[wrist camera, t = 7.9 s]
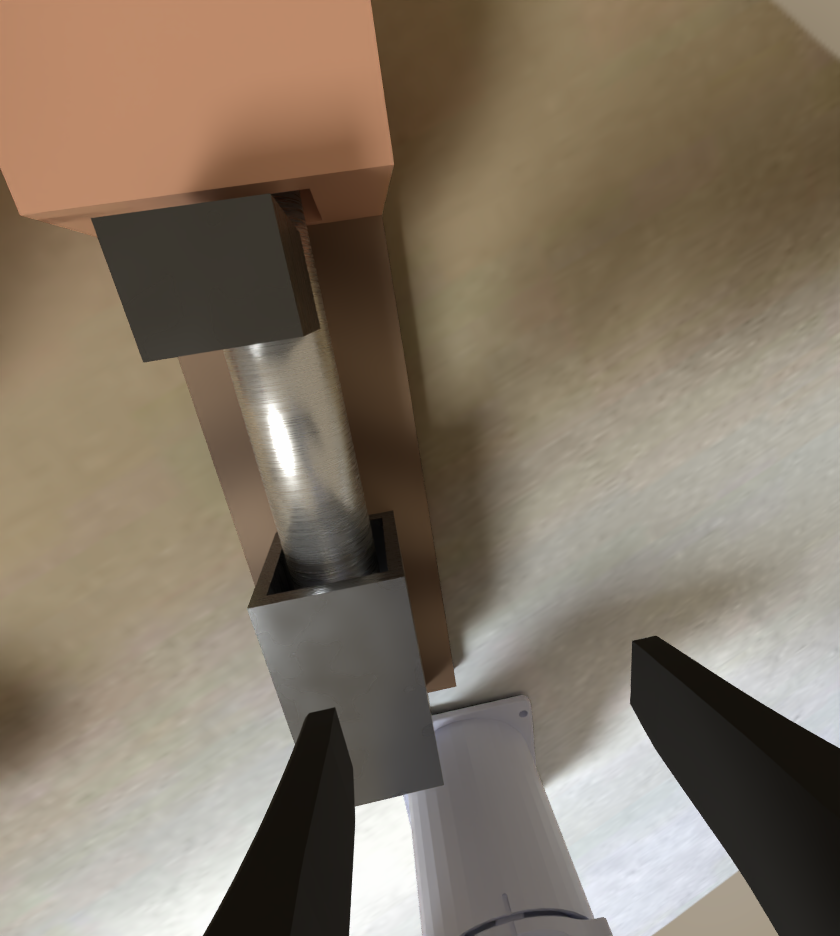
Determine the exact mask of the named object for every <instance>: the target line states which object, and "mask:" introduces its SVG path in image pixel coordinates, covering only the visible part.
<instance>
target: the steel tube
mask: <svg viewBox="0 0 840 936" xmlns="http://www.w3.org/2000/svg"><path fill="white" fill-rule="evenodd" d="M91 221H92V223H93V226H94V229H95V232H96V234H97V237H98V240H99V242H100V245H101V248H102V251H103V253H104V256H105V259H106V262H107V264H108V267H109V270H110V272H111V275H112V278H113V281H114V283H115V286H116V289H117V292H118V294H119V297H120V300H121V302H122V305H123V308H124V311H125V313H126V316H127V319H128V322H129V324H130V327H131V330H132V332H133V335H134V338H135V341H136V343H137V346H138V349H139V352H140V354H141V357H142V360H143V362H149V361H155V360H161V359H168V358H174V357H180V356H186V355H192V354H199V353H205V352H211V351H217V350H223V352H224V355H225V358H226V362H227V365H228V368H229V372H230V375H231V378H232V382H233V385H234V388H235V392H236V395H237V398H238V402H239V405H240V408H241V412H242V415H243V418H244V422H245V425H246V428H247V432H248V435H249V438H250V442H251V445H252V448H253V452H254V455H255V458H256V462H257V465H258V468H259V472H260V475H261V478H262V482H263V485H264V488H265V492H266V495H267V498H268V502H269V505H270V508H271V512H272V515H273V518H274V522H275V525H276V528H277V532H278V535H279V538H280V542H281V545H282V548H283V552H284V555H285V558H286V562H287V565H288V568H289V572H290V575H291V578H292V582H293V585H294V588H295V590H298V589H303V588H307V587H312V586H317V585H322V584H327V583H332V582H337V581H342V580H347V579H352V578H357V577H362V576H367V575H372V574H377V573H380V568H379V564H378V559H377V554H376V549H375V545H374V540H373V535H372V531H371V526H370V521H369V517H368V512H367V507H366V503H365V498H364V493H363V488H362V484H361V479H360V474H359V470H358V465H357V460H356V456H355V451H354V446H353V441H352V437H351V432H350V427H349V423H348V418H347V413H346V409H345V404H344V399H343V395H342V390H341V385H340V380H339V376H338V371H337V366H336V362H335V357H334V352H333V348H332V343H331V338H330V333H329V329H328V324H327V319H326V315H325V310H324V305H323V301H322V296H321V291H320V286H319V282H318V277H317V272H316V268H315V263H314V258H313V254H312V249H311V244H310V240H309V235H308V230H307V225H306V221H305V216H304V211H303V207H302V202H301V197H300V193H299V190H295V191H288V192H281V193H273V194H270V193H269V194H262V195H255V196H247V197H240V198H233V199H225V200H218V201H211V202H204V203H196V204H189V205H182V206H175V207H167V208H160V209H153V210H146V211H138V212H131V213H124V214H117V215H109V216H102V217H95V218H91Z"/></svg>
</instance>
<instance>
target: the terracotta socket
mask: <svg viewBox="0 0 840 936" xmlns="http://www.w3.org/2000/svg"><path fill="white" fill-rule="evenodd" d="M393 167H394V160H393V153H392V146H391V140H390V133H389V126H388V119H387V112H386V105H385V98H384V91H383V84H382V77H381V70H380V63H379V56H378V49H377V42H376V35H375V28H374V21H373V14H372V7H371V0H0V168H1V171H2V173H3V175H4V178H5V180H6V183H7V185H8V187H9V190H10V192H11V195H12V197H13V199H14V202H15V204H16V207H17V209H18V211H19V214H20V215H21V216H24V217H28V218H31V219H35V220H38V221H42V222H46V223H49V224H53V225H56V226H60V227H63V228H67V229H70V230H74V231H78V232H81V233H85V234H88V235H92V236H95V237H97V234H96V232H95V229H94V226H93V223H92V221H91V218H95V217H102V216H109V215H117V214H124V213H131V212H138V211H146V210H153V209H160V208H167V207H175V206H182V205H189V204H196V203H204V202H211V201H218V200H225V199H233V198H240V197H247V196H255V195H262V194H269V193H270V194H273V193H281V192H288V191H295V190H299V193H300V197H301V202H302V207H303V211H304V216H305V221H306V225H307V226H308V225H315V224H322V223H329V222H336V221H343V220H350V219H357V218H364V217H371V216H378V215H382V213H383V209H384V205H385V201H386V196H387V192H388V188H389V184H390V180H391V175H392V171H393Z"/></svg>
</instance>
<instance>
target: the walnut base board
mask: <svg viewBox="0 0 840 936" xmlns="http://www.w3.org/2000/svg"><path fill="white" fill-rule="evenodd" d="M307 230H308V235H309V240H310V244H311V249H312V254H313V258H314V263H315V268H316V272H317V277H318V282H319V286H320V291H321V296H322V301H323V305H324V310H325V315H326V319H327V324H328V329H329V333H330V338H331V343H332V348H333V352H334V357H335V362H336V366H337V371H338V376H339V380H340V385H341V390H342V395H343V399H344V404H345V409H346V413H347V418H348V423H349V427H350V432H351V437H352V441H353V446H354V451H355V456H356V460H357V465H358V470H359V474H360V479H361V484H362V488H363V493H364V498H365V503H366V507H367V512H368V515H371V514H377V513H382V512H387V511H392V510H393V512H394V518H395V523H396V528H397V533H398V539H399V544H400V549H401V555H402V560H403V565H404V570H405V576H406V581H407V586H408V591H409V597H410V602H411V607H412V613H413V618H414V623H415V628H416V634H417V639H418V644H419V650H420V655H421V660H422V665H423V671H424V676H425V681H426V687H427V692H428V693H429V692H433V691H438V690H442V689H447V688H451V687H456V682H455V675H454V669H453V663H452V656H451V650H450V644H449V637H448V631H447V624H446V618H445V612H444V605H443V599H442V593H441V586H440V580H439V574H438V567H437V561H436V555H435V548H434V542H433V535H432V529H431V523H430V516H429V510H428V504H427V497H426V491H425V485H424V478H423V472H422V466H421V459H420V453H419V446H418V440H417V434H416V427H415V421H414V415H413V408H412V402H411V396H410V389H409V383H408V377H407V370H406V364H405V357H404V351H403V345H402V338H401V332H400V326H399V319H398V313H397V307H396V300H395V294H394V288H393V281H392V275H391V268H390V262H389V256H388V249H387V243H386V237H385V230H384V224H383V218H382V215H378V216H371V217H364V218H357V219H350V220H343V221H336V222H329V223H322V224H315V225H308V226H307ZM178 359H179V362H180V365H181V368H182V371H183V374H184V377H185V380H186V383H187V386H188V389H189V392H190V395H191V398H192V401H193V404H194V407H195V409H196V412H197V415H198V418H199V421H200V424H201V427H202V430H203V433H204V436H205V439H206V442H207V445H208V448H209V451H210V454H211V457H212V460H213V463H214V466H215V469H216V472H217V475H218V478H219V481H220V484H221V486H222V489H223V492H224V495H225V498H226V501H227V504H228V507H229V510H230V513H231V516H232V519H233V522H234V525H235V528H236V531H237V534H238V537H239V540H240V543H241V546H242V549H243V552H244V555H245V558H246V560H247V563H248V566H249V569H250V572H251V575H252V578H253V581H254V584H255V587H256V584H257V581H258V579H259V576H260V573H261V571H262V568H263V565H264V563H265V560H266V557H267V555H268V552H269V549H270V547H271V544H272V541H273V539H274V536H275V533H278V532H277V528H276V525H275V522H274V518H273V515H272V512H271V508H270V505H269V502H268V498H267V495H266V492H265V488H264V485H263V482H262V478H261V475H260V472H259V468H258V465H257V462H256V458H255V455H254V452H253V448H252V445H251V442H250V438H249V435H248V432H247V428H246V425H245V422H244V418H243V415H242V412H241V408H240V405H239V402H238V398H237V395H236V392H235V388H234V385H233V382H232V378H231V375H230V372H229V368H228V365H227V362H226V358H225V355H224V352H223V350H217V351H211V352H205V353H199V354H192V355H186V356H180V357H178Z"/></svg>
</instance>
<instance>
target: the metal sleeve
mask: <svg viewBox="0 0 840 936" xmlns="http://www.w3.org/2000/svg"><path fill="white" fill-rule="evenodd" d="M368 517H369V521H370V526H371V531H372V535H373V540H374V545H375V549H376V554H377V559H378V564H379V568H380V573H377V574H372V575H367V576H362V577H357V578H352V579H347V580H342V581H337V582H332V583H327V584H322V585H317V586H312V587H307V588H303V589H298V590H295V588H294V585H293V582H292V578H291V575H290V572H289V568H288V565H287V562H286V558H285V555H284V552H283V548H282V545H281V542H280V538H279V535H278V533H275V536H274V539H273V541H272V544H271V547H270V549H269V552H268V555H267V557H266V560H265V563H264V565H263V568H262V571H261V573H260V576H259V579H258V581H257V584H256V587H255V589H254V592H253V595H252V597H251V600H250V603H249V605H248V608H247V610H248V613H249V615H250V618H251V621H252V624H253V627H254V630H255V632H256V635H257V638H258V641H259V644H260V647H261V649H262V652H263V655H264V658H265V661H266V664H267V666H268V669H269V672H270V675H271V678H272V681H273V683H274V686H275V689H276V692H277V695H278V698H279V700H280V703H281V706H282V709H283V712H284V715H285V717H286V720H287V723H288V726H289V729H290V731H291V734H292V737H293V740H294V743H295V744H296V741H297V739H298V736H299V733H300V731H301V728H302V725H303V722H304V719H305V717H306V716H307V715H308V714H309V713H311V712H316V711H320V710H325V709H329V708H334V707H335V708H336V711H337V715H338V718H339V722H340V725H341V728H342V732H343V735H344V739H345V742H346V745H347V749H348V752H349V756H350V759H351V762H352V766H353V774H354V799H355V806H359V805H363V804H367V803H372V802H376V801H380V800H384V799H388V798H392V797H397V796H401V795H405V794H409V793H413V792H417V791H422V790H426V789H430V788H434V787H438V786H443V785H444V782H443V776H442V770H441V765H440V759H439V754H438V748H437V742H436V737H435V731H434V726H433V720H432V715H431V709H430V703H429V698H428V692H427V687H426V681H425V676H424V671H423V665H422V660H421V655H420V650H419V644H418V639H417V634H416V628H415V623H414V618H413V613H412V607H411V602H410V597H409V591H408V586H407V581H406V576H405V570H404V565H403V560H402V555H401V549H400V544H399V539H398V533H397V528H396V523H395V518H394V512H393V510H392V511H387V512H382V513H377V514H371V515H368Z"/></svg>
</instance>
